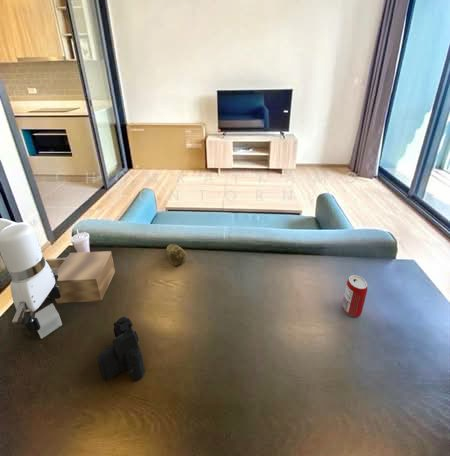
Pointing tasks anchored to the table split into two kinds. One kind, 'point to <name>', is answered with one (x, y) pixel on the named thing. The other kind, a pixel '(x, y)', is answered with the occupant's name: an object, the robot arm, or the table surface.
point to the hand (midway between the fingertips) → (45, 312)
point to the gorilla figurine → (122, 353)
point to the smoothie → (81, 241)
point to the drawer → (54, 263)
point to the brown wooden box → (85, 276)
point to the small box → (48, 320)
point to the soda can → (354, 296)
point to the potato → (176, 255)
